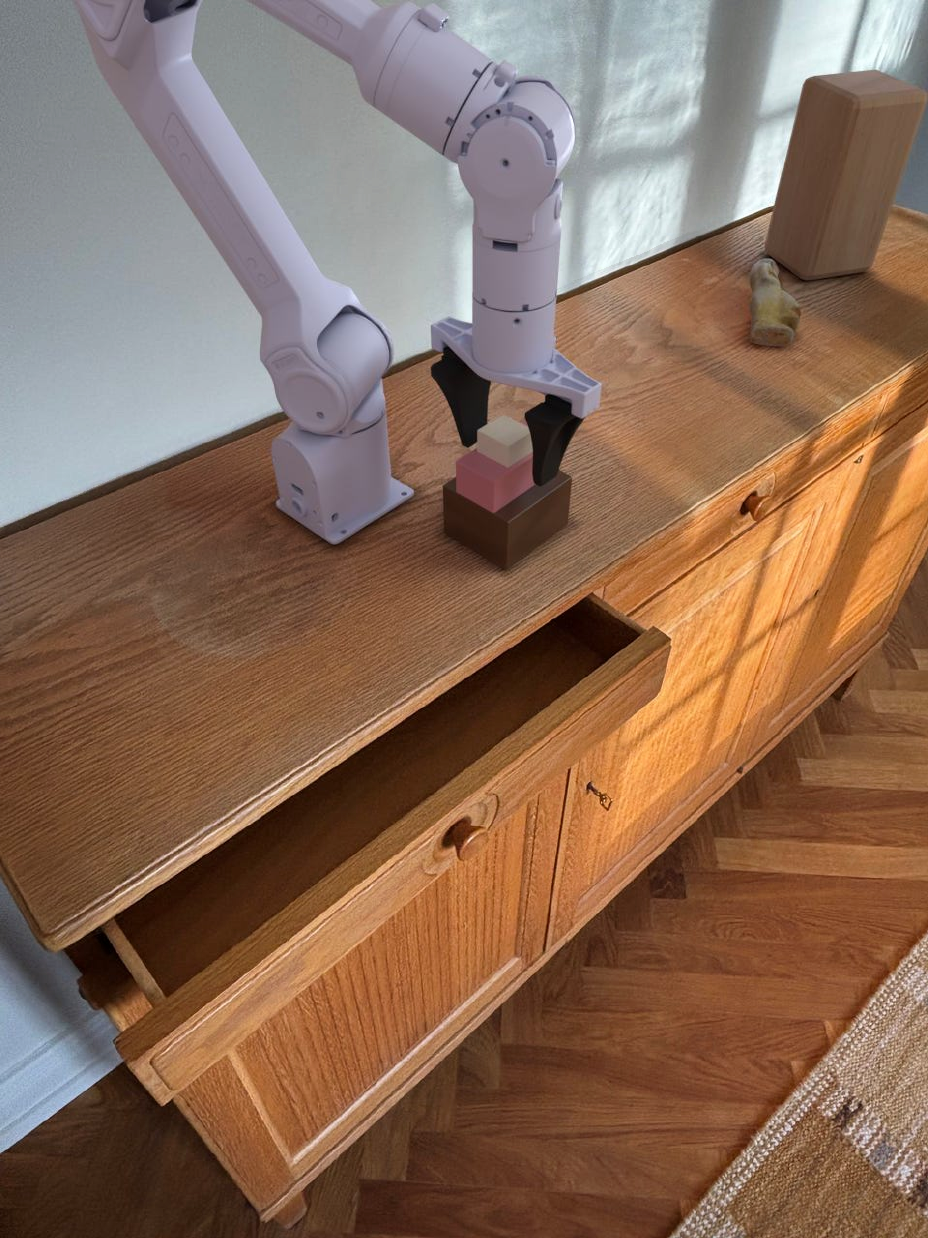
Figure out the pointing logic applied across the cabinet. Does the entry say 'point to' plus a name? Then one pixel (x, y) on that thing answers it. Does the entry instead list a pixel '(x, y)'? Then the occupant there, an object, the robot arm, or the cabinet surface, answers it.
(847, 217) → the block
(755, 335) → the figurine
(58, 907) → the cabinet surface
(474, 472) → the pink toy brick
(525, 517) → the walnut block
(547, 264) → the robot arm
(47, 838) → the cabinet surface
